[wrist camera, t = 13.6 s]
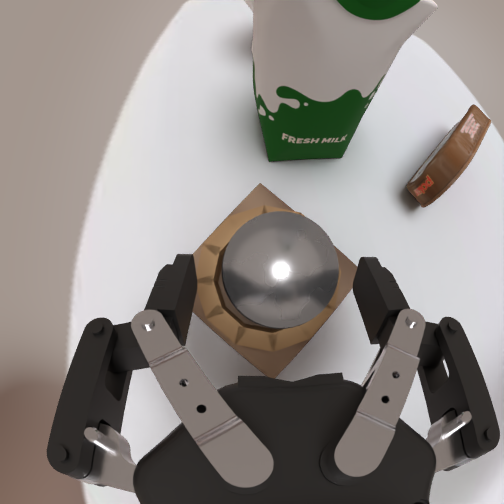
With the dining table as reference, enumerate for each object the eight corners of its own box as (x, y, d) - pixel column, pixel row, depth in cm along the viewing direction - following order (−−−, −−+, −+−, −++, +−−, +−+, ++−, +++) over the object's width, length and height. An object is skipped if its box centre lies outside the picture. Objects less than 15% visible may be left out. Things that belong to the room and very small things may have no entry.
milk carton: (260, 172, 23) (274, -70, 3) (248, 97, 25) (246, -86, 5) (353, 166, 23) (470, -9, 4) (329, 95, 25) (383, -64, 5)
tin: (410, 219, 23) (465, 188, 14) (389, 194, 23) (437, 153, 15) (461, 147, 24) (499, 115, 16) (445, 129, 25) (480, 93, 16)
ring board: (259, 188, 23) (261, 167, 19) (358, 274, 22) (378, 268, 18) (169, 285, 21) (152, 282, 17) (271, 376, 20) (275, 392, 16)
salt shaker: (265, 233, 21) (275, 186, 12) (316, 277, 20) (362, 262, 11) (219, 284, 20) (195, 273, 11) (271, 330, 20) (287, 354, 11)
